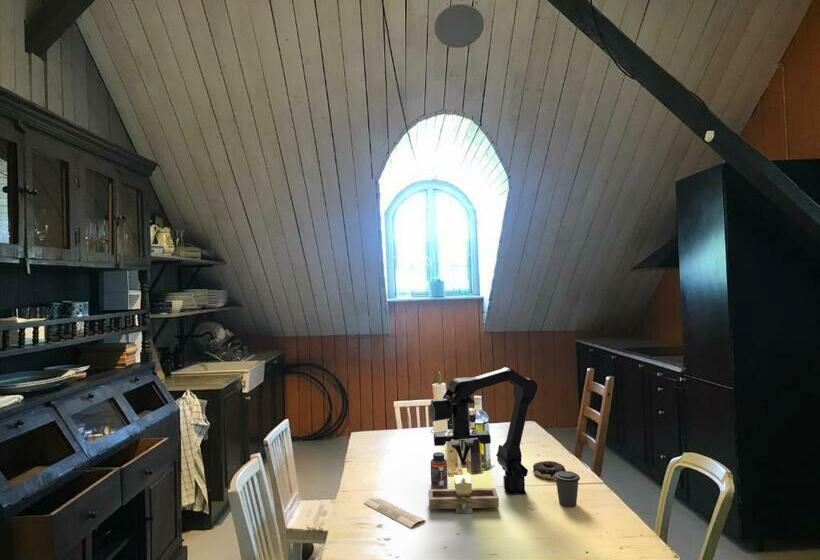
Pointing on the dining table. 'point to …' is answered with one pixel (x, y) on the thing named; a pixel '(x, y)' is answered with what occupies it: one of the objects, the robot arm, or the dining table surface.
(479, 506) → the brown wooden rectangular tray
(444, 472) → the supplement bottle
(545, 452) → the dining table surface
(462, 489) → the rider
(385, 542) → the dining table surface
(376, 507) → the beige piece
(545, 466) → the donut
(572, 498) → the coffee cup
